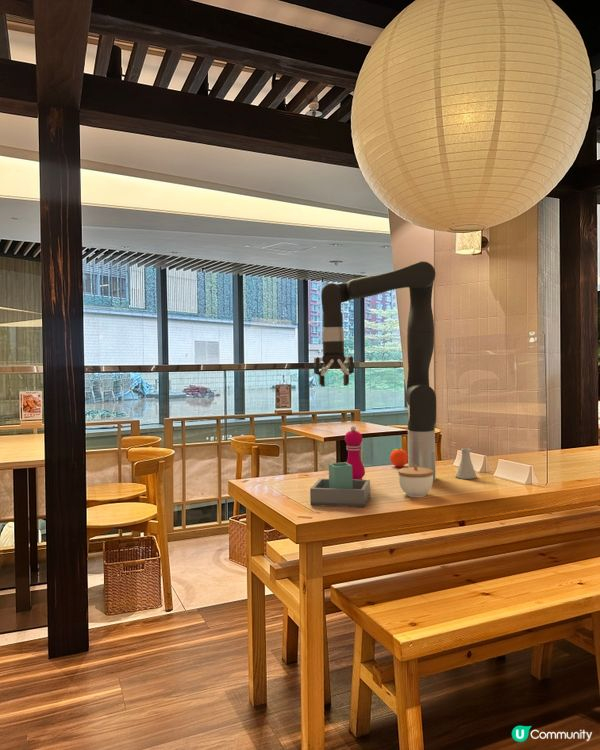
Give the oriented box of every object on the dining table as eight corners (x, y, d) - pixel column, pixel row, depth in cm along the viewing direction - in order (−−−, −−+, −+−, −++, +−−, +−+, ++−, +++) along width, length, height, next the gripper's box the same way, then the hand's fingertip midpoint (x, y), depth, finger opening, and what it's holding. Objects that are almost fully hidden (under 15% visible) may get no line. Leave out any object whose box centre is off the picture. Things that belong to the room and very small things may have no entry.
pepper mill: (364, 487, 198) (362, 427, 197) (342, 487, 199) (341, 427, 198) (366, 482, 205) (364, 424, 204) (345, 482, 206) (343, 424, 205)
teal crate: (346, 494, 185) (345, 462, 185) (352, 498, 180) (352, 465, 180) (329, 495, 184) (328, 463, 183) (335, 500, 178) (334, 466, 178)
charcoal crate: (370, 495, 187) (369, 479, 187) (364, 507, 173) (364, 490, 173) (320, 494, 191) (319, 478, 190) (310, 505, 177) (310, 488, 177)
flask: (480, 476, 210) (479, 448, 210) (471, 480, 205) (471, 451, 204) (461, 474, 215) (460, 446, 214) (451, 478, 209) (451, 449, 209)
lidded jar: (399, 499, 182) (398, 468, 181) (398, 490, 192) (397, 462, 192) (435, 499, 180) (434, 468, 180) (432, 491, 191) (431, 462, 191)
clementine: (385, 467, 231) (384, 449, 231) (390, 464, 237) (390, 446, 237) (405, 468, 227) (404, 450, 227) (410, 465, 233) (410, 447, 233)
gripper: (317, 340, 206) (318, 387, 207) (355, 339, 210) (356, 385, 211) (311, 341, 213) (312, 386, 214) (348, 340, 217) (349, 384, 218)
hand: (334, 385), depth 212 cm, fingers open, 8 cm apart
